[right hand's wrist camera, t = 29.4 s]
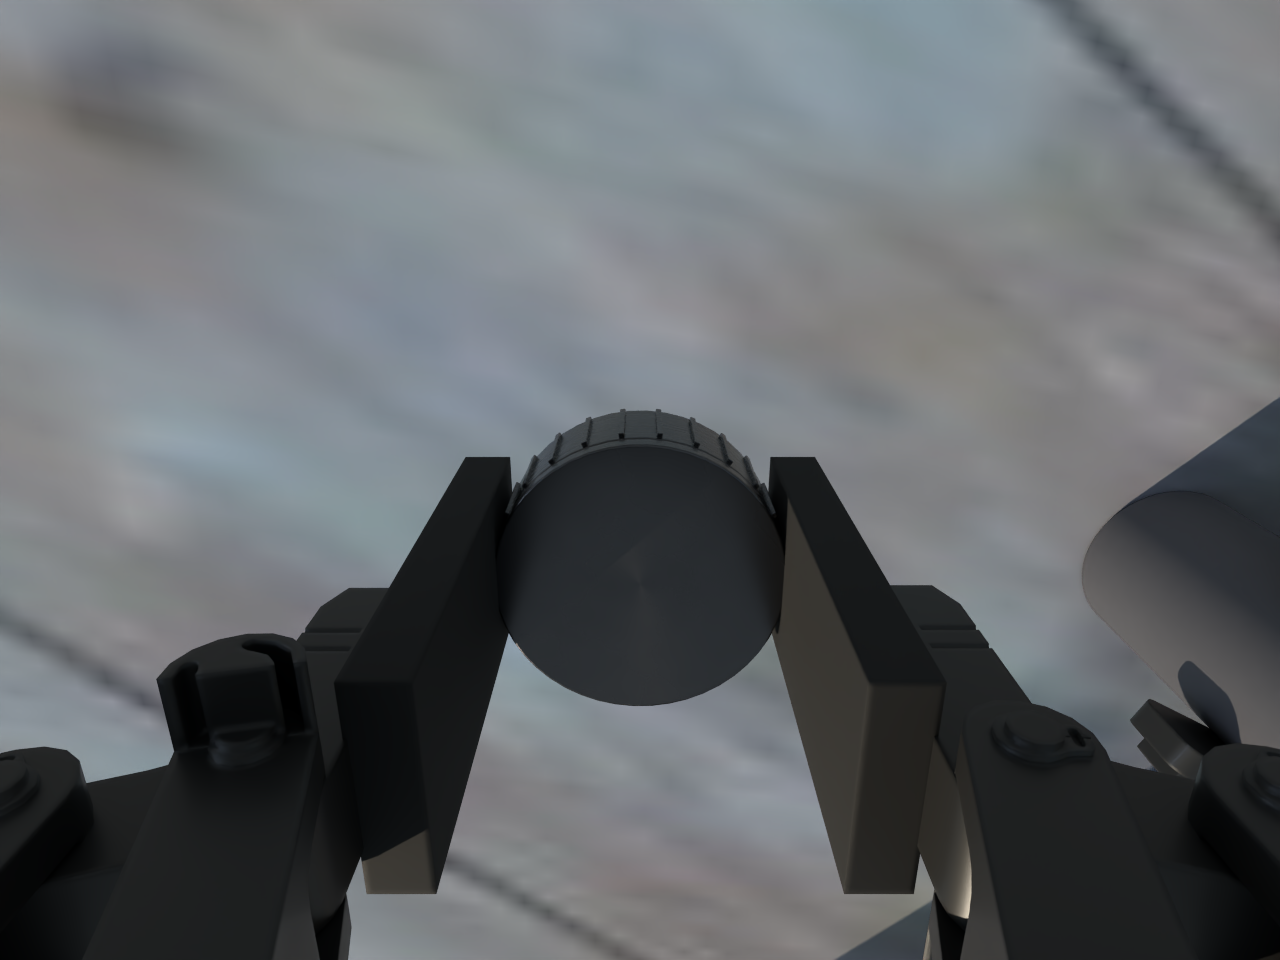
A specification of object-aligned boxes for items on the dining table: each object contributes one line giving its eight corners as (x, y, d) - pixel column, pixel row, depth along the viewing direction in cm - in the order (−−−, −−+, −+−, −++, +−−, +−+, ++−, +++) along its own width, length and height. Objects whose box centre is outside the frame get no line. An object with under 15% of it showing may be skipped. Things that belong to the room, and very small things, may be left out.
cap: (467, 591, 15) (445, 646, 13) (571, 360, 13) (561, 388, 12) (698, 684, 16) (705, 748, 14) (822, 475, 14) (846, 518, 12)
